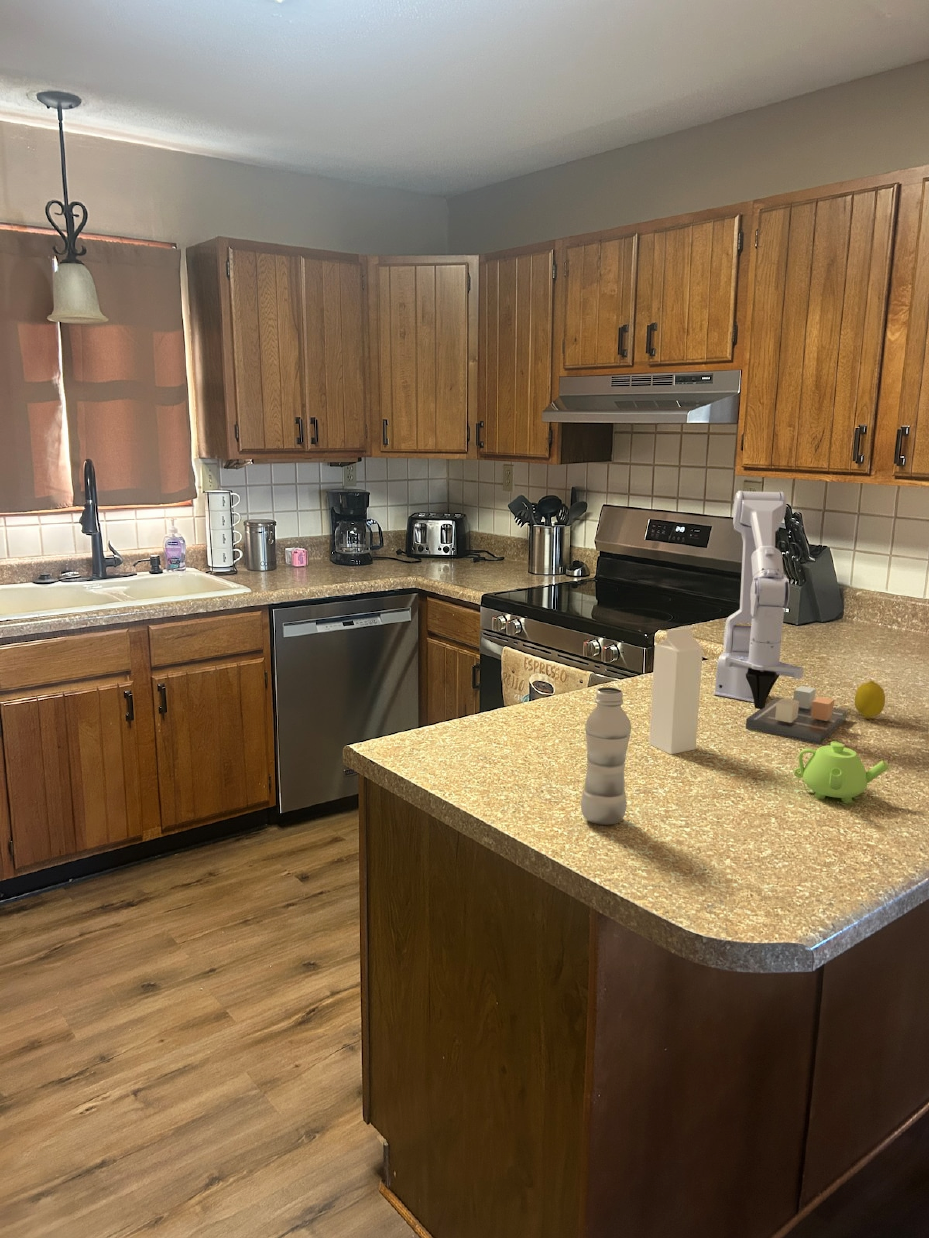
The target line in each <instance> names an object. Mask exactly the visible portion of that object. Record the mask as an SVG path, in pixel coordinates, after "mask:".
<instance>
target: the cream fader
mask: <svg viewBox="0 0 929 1238" xmlns="http://www.w3.org/2000/svg"><path fill="white" fill-rule="evenodd" d="M798 707H799V701H795V700H794V699H789V698H782V700H780V701H779V702H777V704H776V715H775V720H779V721H784V722H789V723H791V722H793V721H794V720H795V719H796V718H797V717H798Z"/></svg>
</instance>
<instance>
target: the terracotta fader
mask: <svg viewBox="0 0 929 1238" xmlns="http://www.w3.org/2000/svg"><path fill="white" fill-rule="evenodd" d="M834 706H835V699H834V698H829V697H823V696H817V697H815V700H813V701H812V710H811V718H814V719H819V720H825V721H827V720H828V719H830V718H831V717H832V716H833V708H835V707H834Z"/></svg>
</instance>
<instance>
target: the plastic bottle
mask: <svg viewBox="0 0 929 1238" xmlns="http://www.w3.org/2000/svg"><path fill="white" fill-rule="evenodd" d="M595 695H596V697H595V699H594V700H595V703H596V704H597V705H596V706H595V707H594V709H593V710H592V711H591V713H589V715H588V717H587V719H586V721H585V726H584V727H585V728H584V730H585V741H586V752H587V753H586V759H587V762H586V774H585V781H584V788H583V790H582V794H581V799H580V810H581V814H582V815H583V818H585V820H586V821H588V822H590V823H593V824H596V825H600V826H601V825H603V826H605V825H606V826H609V825H615V824H617V823H619V822H621V821H622V820H623V819H624V817H625V814H626V811H627V806H628V805H627V795H626V789H625V787H626V785H625V784H626V783H625V780H626V779H625V769H626V768H625V766H626V758H627V752H628V747H629V743H630V742H629V741H630V738H631V732H632V731H631V730H632V724H631V720H630V718H629V717H628V715H627V712H625V709H623V708H622V705H624V699H623V698H624V697H623V696H624V695H623V690H622V689H621V688H618V687H613V686H612V687H611V686H603V687H598V688H596V693H595Z"/></svg>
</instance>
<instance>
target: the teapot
mask: <svg viewBox="0 0 929 1238" xmlns="http://www.w3.org/2000/svg"><path fill="white" fill-rule="evenodd" d="M845 746H846V745H845V744H843V743H841V742H839V741H836V740H835V741H830V745H822V746H820V747H819V748H817V749H816V750H815V749H812V748H810V747H809V748H803V749H802V750H801V751H799V753H798V756H797V757H798V765H799V767H795V769H793V774H794V776H795V777H796V778H798V779H799V778H800V779H801V778H802V779H803V780H802V781H804V783H805V785H806V786H807V787H808V788H809V789H810V790H811V791H812V792H814V794H813V798H815V799H816V800H824V799H825V798H826V797H831V798H837V799H841V801H840V802H842V803H844V804H853V803H854V800H853V798H855V797H858V796H860V795H861V794H862V793H864V792H865V790H867V787H868V784H869V783H871V782H872V781H873V780H875V779H876V778H878V777H879V776H880V775H883V774H884V773H885V772H886V771H888V770H890V766H889V765H888V764H887V763H886V762H885V761H884V760H881V761H880V762H878V763H877V764H875V765H874V766H873V767H871V768H870V769H869V770H866V768H865V766H864V763H863V761H862V759H861V757H860V756H859V755H858V753H857V752H856V751H855V750H853V749H851V748H848V747H845ZM806 753H807V754H808V753H809V754H812V755H811V756H810V757H809V759H808V760H807V762H806V763H805V766H804V761H803V760H804V758H803V757H804V754H806ZM798 771H800V773H799V772H798Z"/></svg>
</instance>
